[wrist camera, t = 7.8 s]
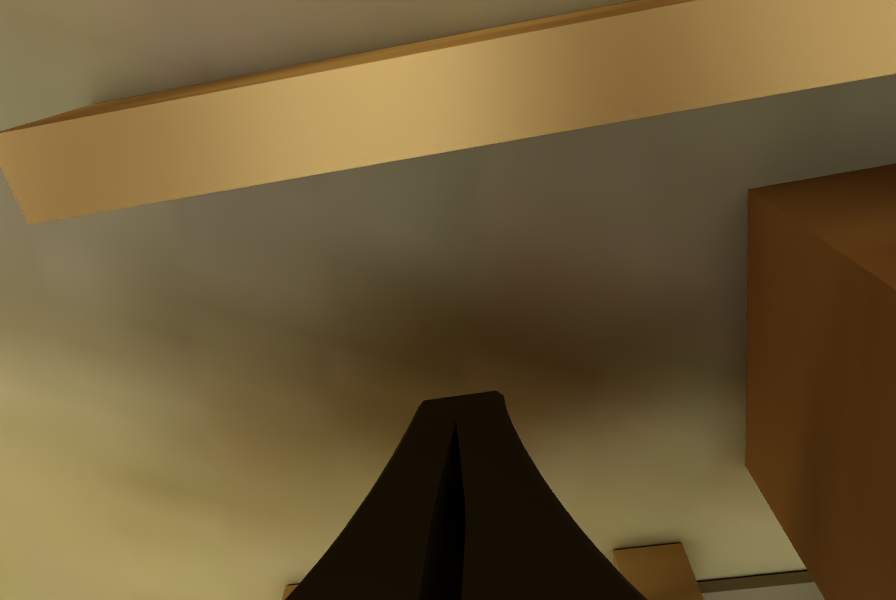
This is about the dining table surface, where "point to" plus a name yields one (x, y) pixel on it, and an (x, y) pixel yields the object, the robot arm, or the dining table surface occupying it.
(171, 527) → the dining table surface
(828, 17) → the trap lane
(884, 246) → the walnut block
